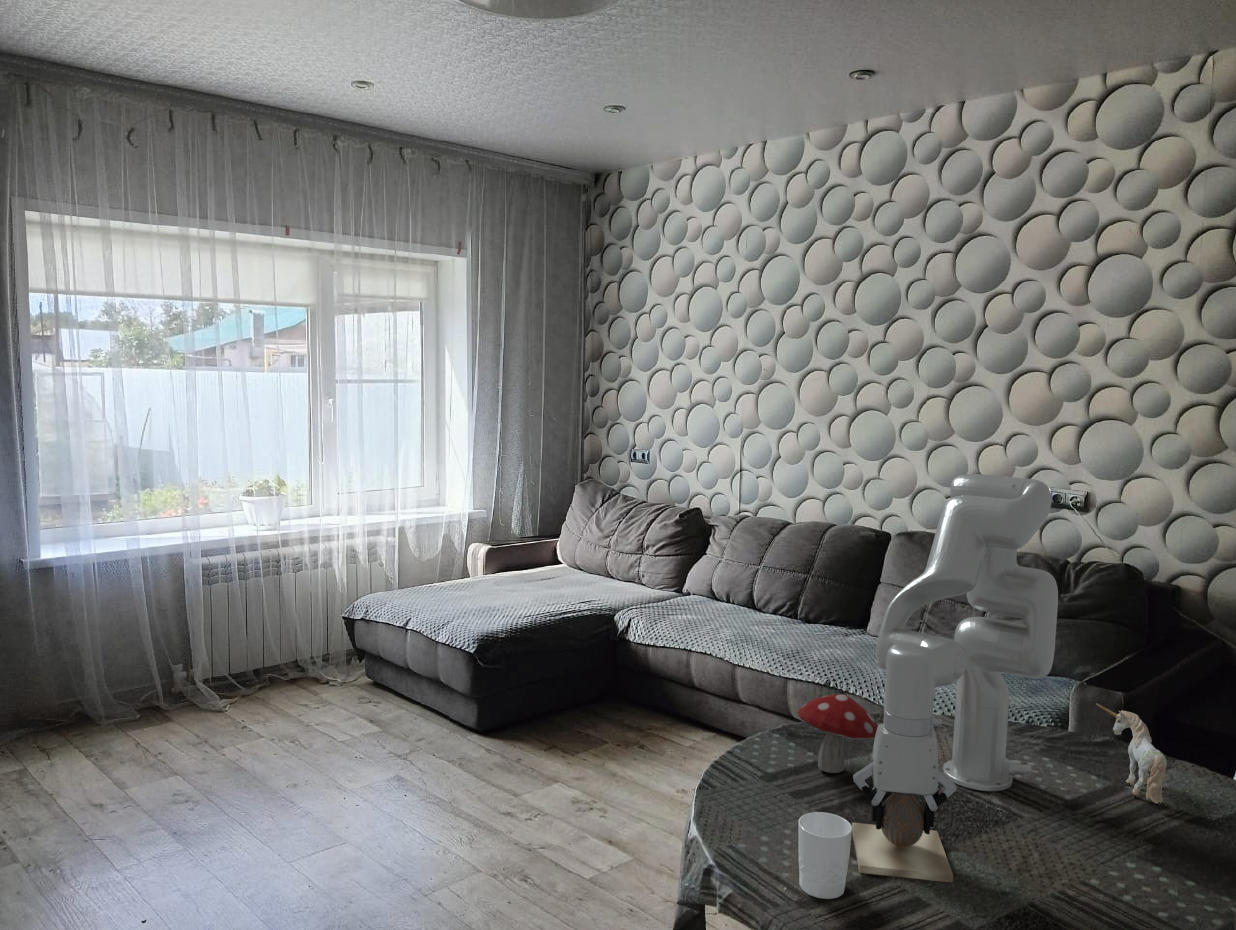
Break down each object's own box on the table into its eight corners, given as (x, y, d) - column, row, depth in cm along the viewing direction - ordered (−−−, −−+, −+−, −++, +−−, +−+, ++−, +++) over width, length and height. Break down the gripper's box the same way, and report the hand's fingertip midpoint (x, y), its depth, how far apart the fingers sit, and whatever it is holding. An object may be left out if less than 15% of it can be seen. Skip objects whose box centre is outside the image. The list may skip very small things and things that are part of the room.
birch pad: (936, 837, 157) (937, 830, 156) (952, 882, 143) (953, 875, 143) (851, 829, 159) (851, 822, 159) (859, 872, 145) (859, 865, 145)
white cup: (789, 873, 144) (792, 812, 143) (838, 872, 145) (842, 811, 144) (803, 902, 137) (806, 838, 136) (856, 901, 137) (859, 837, 136)
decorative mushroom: (798, 748, 192) (801, 678, 191) (877, 758, 188) (881, 687, 186) (791, 780, 177) (794, 704, 175) (877, 792, 173) (881, 715, 171)
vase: (925, 854, 147) (928, 801, 146) (880, 849, 148) (883, 796, 147) (920, 833, 153) (923, 782, 152) (877, 828, 155) (879, 777, 154)
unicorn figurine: (1124, 767, 187) (1130, 703, 185) (1189, 813, 168) (1196, 742, 166) (1090, 767, 186) (1095, 703, 185) (1151, 814, 167) (1158, 742, 166)
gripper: (959, 717, 151) (952, 822, 153) (849, 709, 154) (844, 811, 156) (969, 736, 144) (962, 845, 145) (853, 726, 146) (848, 834, 148)
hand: (901, 827), depth 151 cm, fingers closed on vase, 7 cm apart
